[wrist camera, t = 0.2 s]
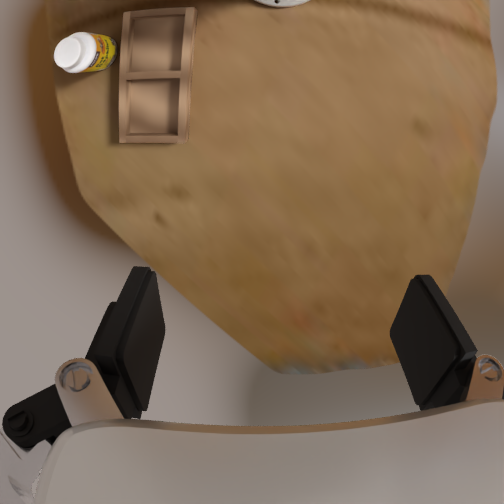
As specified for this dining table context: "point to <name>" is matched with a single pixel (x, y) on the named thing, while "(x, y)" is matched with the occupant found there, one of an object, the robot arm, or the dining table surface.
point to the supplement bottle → (85, 52)
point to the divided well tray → (156, 75)
